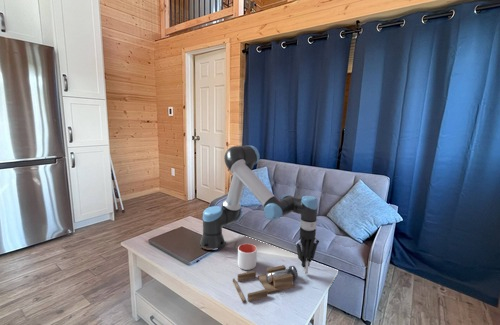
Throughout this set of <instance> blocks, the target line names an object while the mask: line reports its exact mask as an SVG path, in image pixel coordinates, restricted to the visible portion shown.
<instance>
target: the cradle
mask: <svg viewBox="0 0 500 325" xmlns="http://www.w3.org/2000/svg"><path fill="white" fill-rule="evenodd" d="M285 269H287V266H285V264H283V265H282V264H281V265H277V266H272V267H268V268H266V273H265V274H260V275H257V272H256V270H252V271H248V272H247V271H246V272H243V273H242V272H241V273H237V281H236V278H232V283H233V286H234V287H235V289H236V291H237V294H238V296H239V298H240V301H241V302H242V304H245V303H246V299H245V296H244V295H243V293H242V291H241V288H240V286H239V285H238V283H237V282H242V281H247V280H251V279H256V275H257V279H258V281H259V282H260V283H261V285H262V287H263V288H264V289H261V290H257V291H253V292H248V293H247V301H248V302H253V301H257V300H261V299H265V298H268V296H269V295H270V294H273V293H279V292H281V291H282V292H283V291H286V290H290V289H294V288H295V284H294V279H293V275H292V274H286V275H282V276H277V277H273V282H271V283H268V282H267V280H266V274H267V273H270V272H276V271H281V270H285Z"/></svg>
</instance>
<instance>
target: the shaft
mask: <svg viewBox="0 0 500 325" xmlns="http://www.w3.org/2000/svg"><path fill="white" fill-rule="evenodd" d="M265 274H266V280H267V282H268V283H271V282H273V277H277V276H282V275H286V274H292V275H293V280H297V279H298V277H299V276H298V275H299V273H298V270H297V267H296V266H295V265H290V266H289V267H288V268H286V269H285V270H281V271H276V272H270V273H267V272H266V273H265Z"/></svg>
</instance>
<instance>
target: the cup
mask: <svg viewBox="0 0 500 325" xmlns="http://www.w3.org/2000/svg"><path fill="white" fill-rule="evenodd" d="M257 253H258V248H257V246H256V245H255V244H252V243H243V244H239V246H238V247H237V266H238V267H239V268H240V269H242V270H245V271H250V270H253V269H255V267H256V266H257V260H258V258H257V257H258V255H257Z"/></svg>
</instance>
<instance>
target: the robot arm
mask: <svg viewBox="0 0 500 325" xmlns="http://www.w3.org/2000/svg"><path fill="white" fill-rule="evenodd" d="M259 161H260V152H259V150H258V149H257V147H256V146H253V145H247V144H246V145H235V146H231V147H229V148H228V149H227V150H226V152H225V154H224V164H225V166H226V167H227V170H229V171H230V173H231V174H233V175H232V178H231V182H230V186H229V189H228V193H227V197H226V199H225V200H223V202H222V205H221V206H218V205H213V206H209V207H206V208H205V209H204V210H203V212H202V236H201V239H200V241H199V245H200V244H201V245H202V246H204V247H206V248H218V250H217V251H220V250H221V249H223V248H224V247H225V245H226V243H225V242H226V241H225V238H224V235H223V227H224V226H227V225H230V224H232V223H236V222H238V221H239V220H240V219H241V218H242V216H243V210H242V209H243V208H242V207H241V203H240V202H241V198H242V196H243V192H244V188H245V187H246V188H247V189H248V190H249V192H250V193H251V194H252V195H253V196H254V198H255V199H256V200H257V201H258V202H259V203H260V205H262V206H263V207H264V208H263V213H264V216H265V217H266V219H267V220H270V221H274V220H277V219H278V220H279V219H280V218H282V217H284V216H286V215H288V214H291V213H295V214H298V215H300V220H299V221H300V224H299V225H300V227H299V239H298V241H295V242H294V244H295V246H296V251H297V252H296V253H297V258H298V259H299V261H301V267H302V272H303V273H304V274H305V275H307V274H309V267H310V263H311V262H312V260H313V259H314V257H315V256H316V252H317V247H318V245H319V243H320V240H319V239H318V238H316V231H317V229H316V228H317V221H318V220H317V218H318V208H319V206H318V205H319V203H318V202H319V201H318V198H317V197H315V196H313V195H303V196H302V198H299V197H296V196H292V195H288V194H282V195H281V197H280V198H279V199H278V197H276V195H274V194H273V192H272V191H271V190H270V189H269V188H268V187H267V185H266V184H264V183H263V181H262V180H261V179H260V178H259V177H258V176H257V175H256V173H254V172H253V168H254V165H256V164H258V162H259Z"/></svg>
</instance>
